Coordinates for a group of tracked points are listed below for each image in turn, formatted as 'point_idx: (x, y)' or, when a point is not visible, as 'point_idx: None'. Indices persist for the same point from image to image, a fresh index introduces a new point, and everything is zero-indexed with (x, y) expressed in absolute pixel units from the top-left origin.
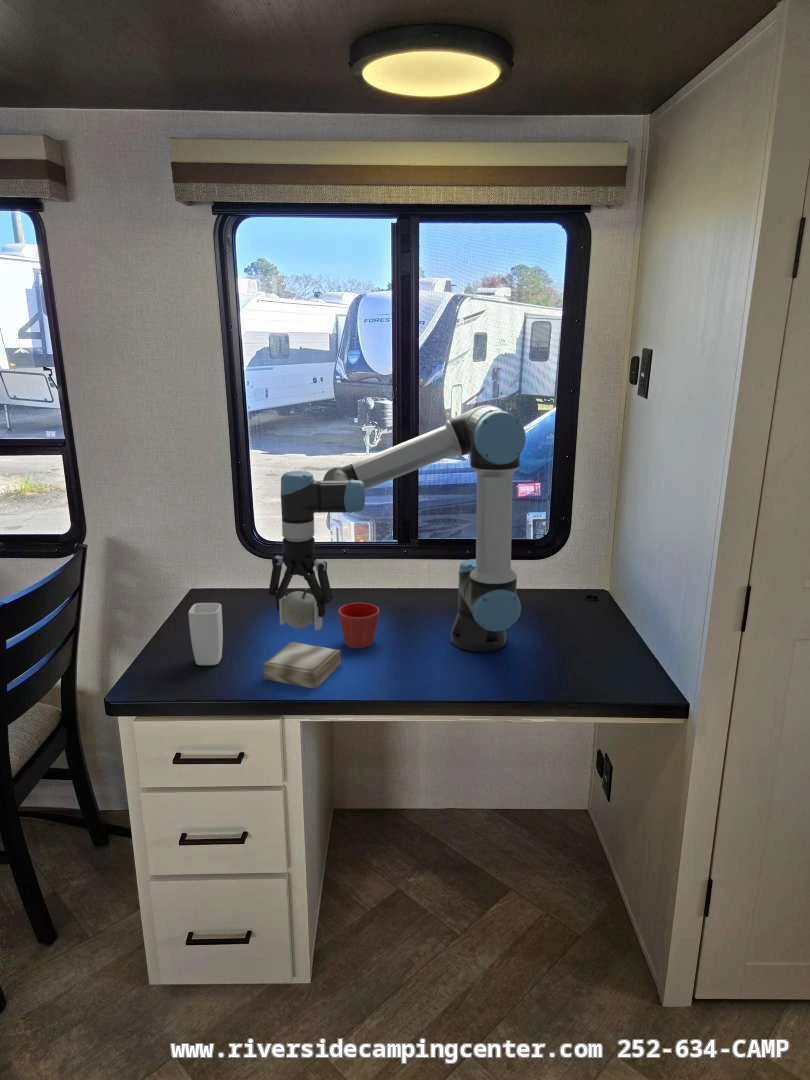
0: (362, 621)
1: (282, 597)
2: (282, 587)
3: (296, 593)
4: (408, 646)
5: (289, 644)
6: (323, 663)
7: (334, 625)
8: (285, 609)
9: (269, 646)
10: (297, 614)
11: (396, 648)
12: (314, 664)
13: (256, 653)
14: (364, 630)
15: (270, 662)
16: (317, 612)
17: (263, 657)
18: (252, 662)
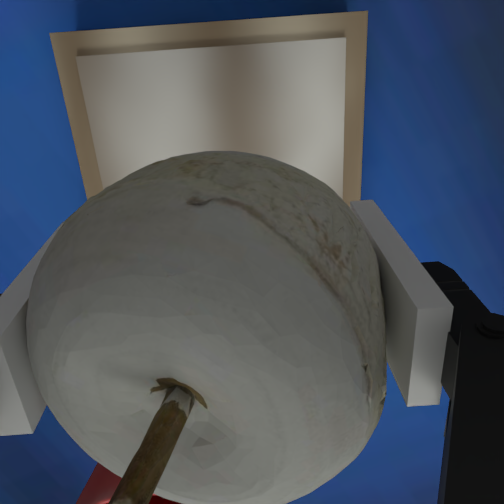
0: (93, 490)
1: (443, 366)
2: (476, 438)
3: (266, 432)
4: (8, 465)
5: None
6: (89, 157)
7: (319, 489)
8: (300, 192)
9: (467, 284)
10: (137, 175)
11: (32, 441)
12: (111, 118)
13: (493, 213)
14: None
15: (337, 38)
16: (3, 302)
17: (448, 195)
18: (474, 135)
